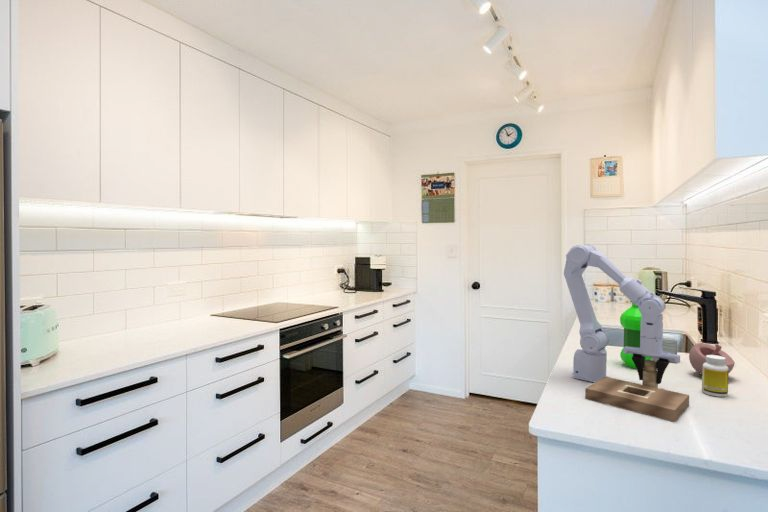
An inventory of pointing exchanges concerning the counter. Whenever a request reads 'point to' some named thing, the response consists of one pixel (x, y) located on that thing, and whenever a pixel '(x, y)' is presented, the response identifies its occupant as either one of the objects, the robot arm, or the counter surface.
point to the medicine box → (669, 346)
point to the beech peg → (650, 374)
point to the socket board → (638, 398)
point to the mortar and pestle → (701, 350)
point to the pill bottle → (715, 376)
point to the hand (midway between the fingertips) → (650, 381)
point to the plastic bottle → (631, 332)
